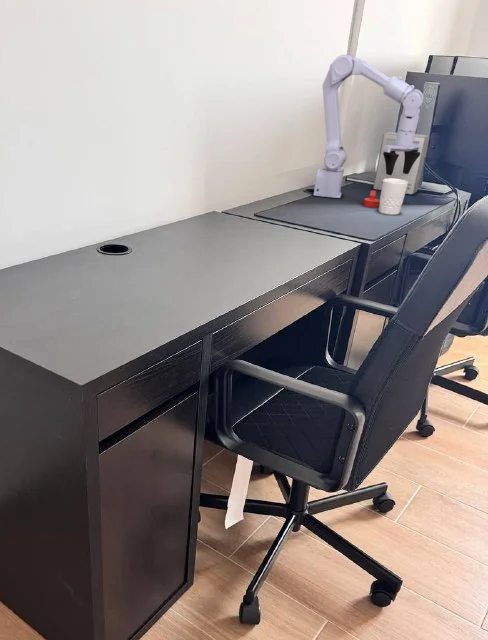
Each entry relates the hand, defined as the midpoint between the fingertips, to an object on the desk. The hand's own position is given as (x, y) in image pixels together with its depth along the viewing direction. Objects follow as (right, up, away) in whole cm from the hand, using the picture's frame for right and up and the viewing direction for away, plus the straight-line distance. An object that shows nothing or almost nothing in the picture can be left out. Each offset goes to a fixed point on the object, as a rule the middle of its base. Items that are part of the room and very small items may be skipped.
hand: (397, 174), depth 198 cm
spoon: (-8, -9, +4) cm, 12 cm away
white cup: (-5, -16, -7) cm, 18 cm away
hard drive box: (+8, +3, +24) cm, 25 cm away
